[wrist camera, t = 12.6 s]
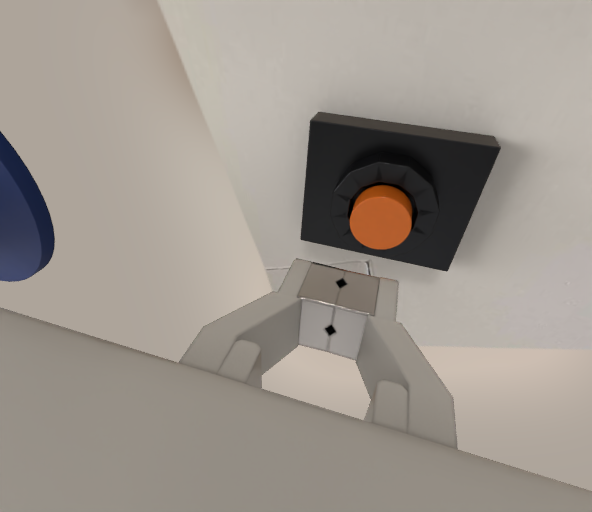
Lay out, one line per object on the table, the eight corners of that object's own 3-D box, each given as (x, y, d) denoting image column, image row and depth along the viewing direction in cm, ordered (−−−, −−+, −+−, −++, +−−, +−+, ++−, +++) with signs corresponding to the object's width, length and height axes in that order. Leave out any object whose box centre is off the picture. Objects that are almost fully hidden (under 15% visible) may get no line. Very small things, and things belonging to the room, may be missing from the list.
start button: (349, 229, 23) (345, 243, 21) (358, 179, 21) (354, 191, 19) (403, 240, 22) (402, 255, 21) (419, 190, 20) (419, 203, 19)
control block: (307, 226, 28) (293, 253, 25) (318, 111, 22) (302, 127, 19) (445, 254, 26) (449, 288, 23) (494, 136, 20) (508, 158, 17)
